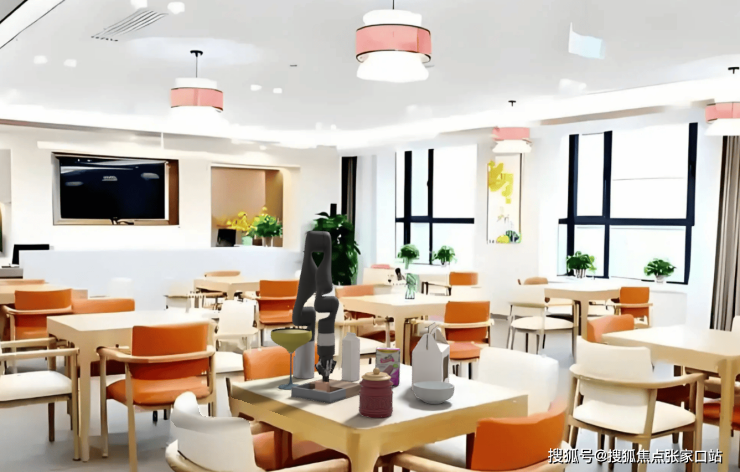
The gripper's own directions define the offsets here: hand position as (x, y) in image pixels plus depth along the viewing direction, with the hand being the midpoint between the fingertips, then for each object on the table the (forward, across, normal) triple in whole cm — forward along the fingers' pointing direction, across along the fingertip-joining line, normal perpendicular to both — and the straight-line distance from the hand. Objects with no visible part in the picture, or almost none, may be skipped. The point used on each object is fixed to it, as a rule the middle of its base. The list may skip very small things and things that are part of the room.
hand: (325, 384), depth 308 cm
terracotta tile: (+1, +1, 0) cm, 2 cm away
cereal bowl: (+5, -18, +42) cm, 46 cm away
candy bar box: (+5, -35, +9) cm, 36 cm away
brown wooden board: (+5, -7, 0) cm, 8 cm away
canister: (+5, +13, +34) cm, 37 cm away
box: (+5, +5, 0) cm, 7 cm away
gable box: (+5, -43, +27) cm, 51 cm away
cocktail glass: (+5, -4, -22) cm, 23 cm away
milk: (+5, -33, -10) cm, 35 cm away
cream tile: (+2, +6, 0) cm, 6 cm away
